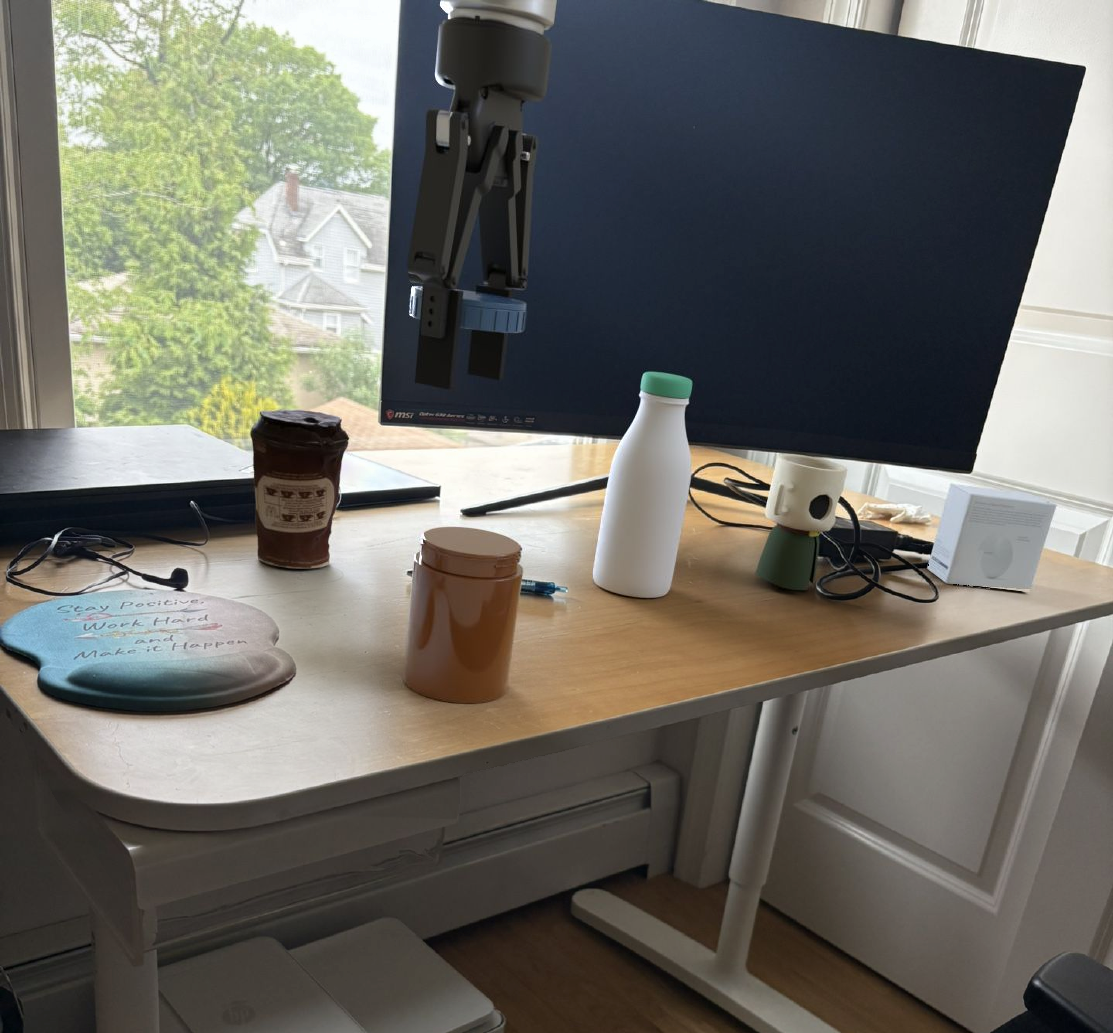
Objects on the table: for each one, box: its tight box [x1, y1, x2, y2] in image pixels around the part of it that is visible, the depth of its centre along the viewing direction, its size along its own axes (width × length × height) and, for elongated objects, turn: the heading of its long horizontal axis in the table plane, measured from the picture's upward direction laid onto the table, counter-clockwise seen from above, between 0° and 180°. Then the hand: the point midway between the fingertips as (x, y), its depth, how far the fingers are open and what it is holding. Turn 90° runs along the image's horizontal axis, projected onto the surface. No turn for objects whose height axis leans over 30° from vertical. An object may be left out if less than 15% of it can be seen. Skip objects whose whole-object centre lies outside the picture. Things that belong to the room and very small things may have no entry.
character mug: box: [754, 453, 848, 591], centre depth 117 cm, size 11×7×13 cm, turn 138°
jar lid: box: [408, 285, 528, 334], centre depth 82 cm, size 8×8×2 cm
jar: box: [402, 526, 524, 704], centre depth 80 cm, size 8×8×11 cm
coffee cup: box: [249, 409, 350, 570], centre depth 100 cm, size 9×8×13 cm
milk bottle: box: [592, 371, 693, 599], centre depth 107 cm, size 8×8×20 cm
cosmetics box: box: [927, 483, 1057, 590], centre depth 131 cm, size 10×6×10 cm, turn 94°
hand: (460, 380), depth 84 cm, fingers closed on jar lid, 8 cm apart
